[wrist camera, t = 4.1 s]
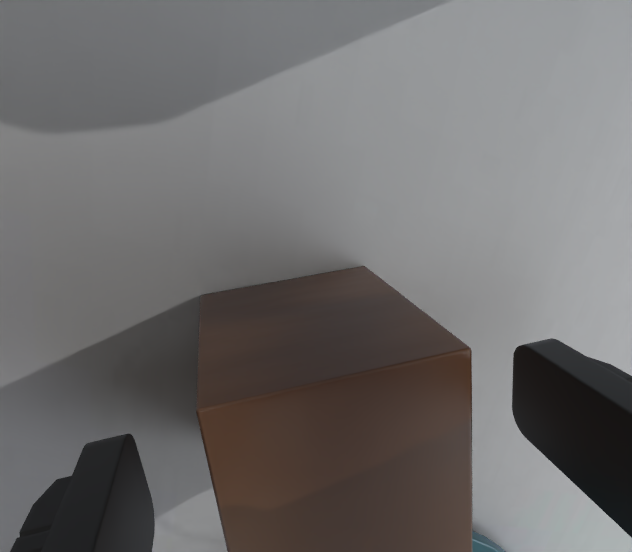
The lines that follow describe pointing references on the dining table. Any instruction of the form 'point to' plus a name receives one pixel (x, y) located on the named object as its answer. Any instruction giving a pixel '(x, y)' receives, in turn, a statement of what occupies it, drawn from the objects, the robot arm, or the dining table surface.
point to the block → (334, 418)
